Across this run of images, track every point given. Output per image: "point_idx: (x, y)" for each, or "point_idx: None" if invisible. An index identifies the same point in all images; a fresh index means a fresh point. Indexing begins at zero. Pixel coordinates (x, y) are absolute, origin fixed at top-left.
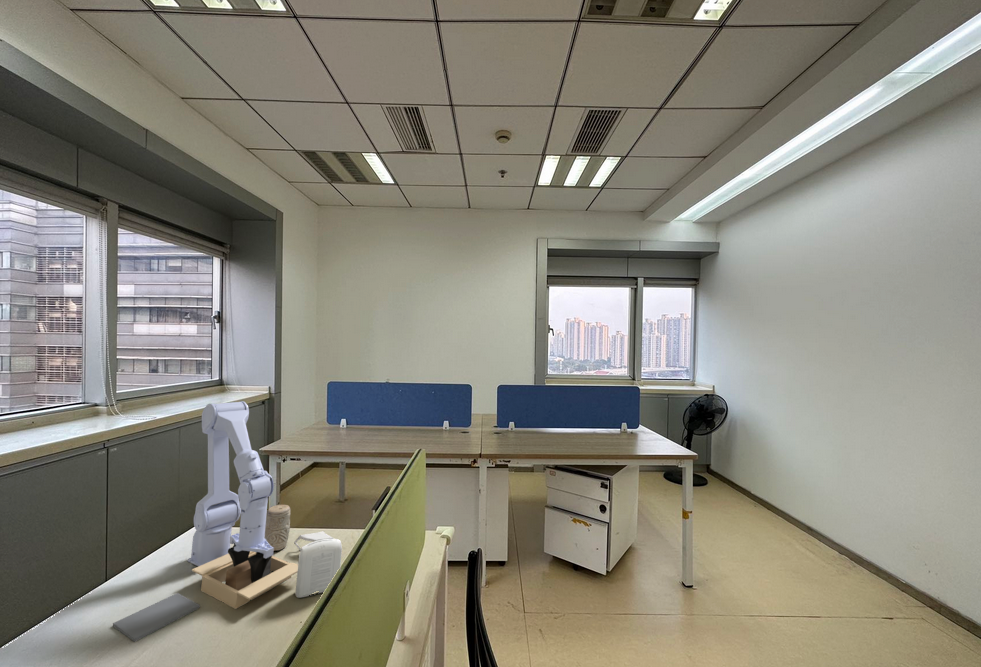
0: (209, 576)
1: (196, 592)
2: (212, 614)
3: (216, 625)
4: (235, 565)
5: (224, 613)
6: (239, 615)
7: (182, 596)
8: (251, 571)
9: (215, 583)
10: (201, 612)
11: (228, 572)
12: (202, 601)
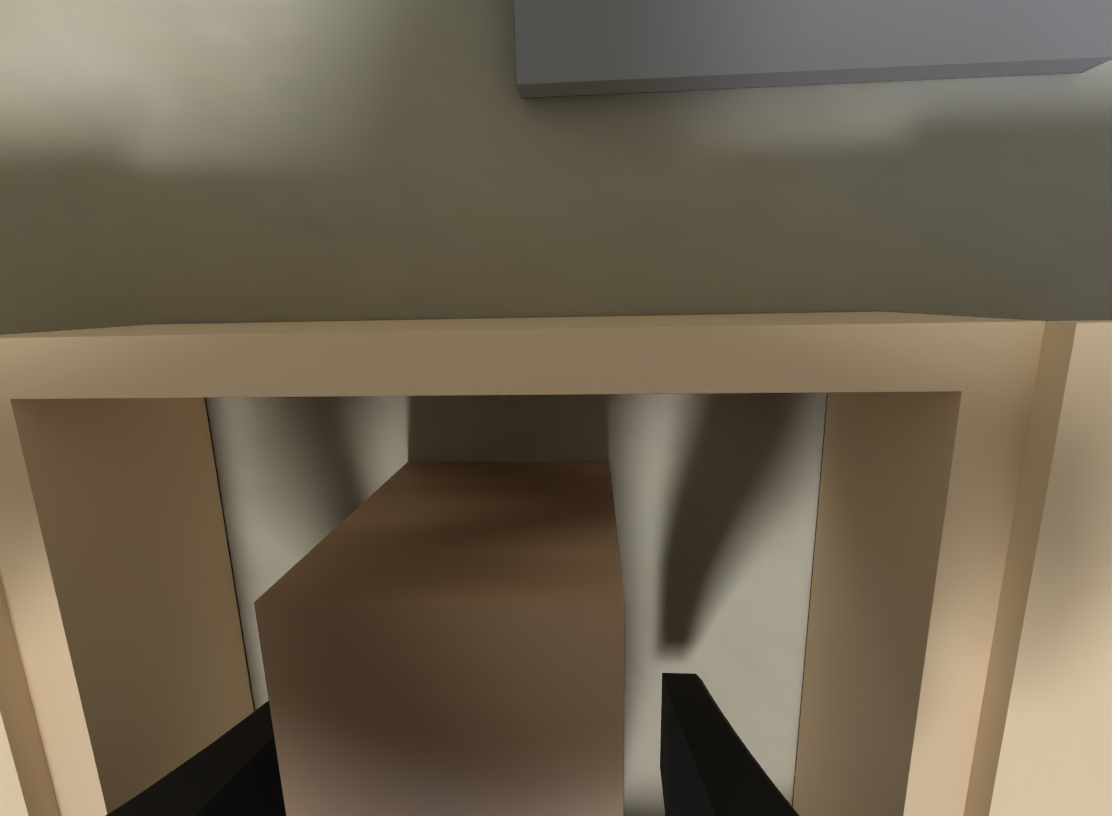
0: (892, 387)
1: (898, 259)
2: (259, 120)
3: (14, 31)
4: (715, 801)
5: (171, 211)
6: (13, 283)
7: (948, 47)
8: (200, 802)
9: (569, 327)
10: (406, 62)
11: (548, 590)
12: (627, 195)
